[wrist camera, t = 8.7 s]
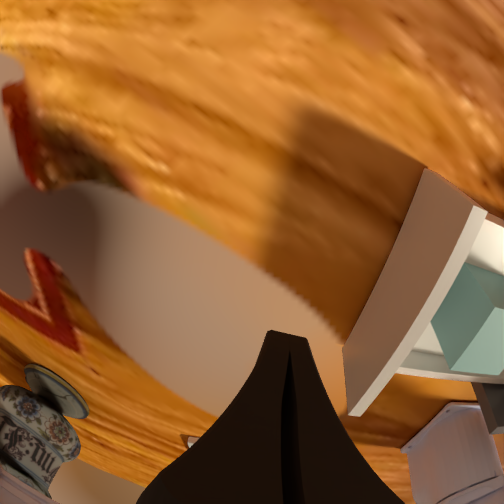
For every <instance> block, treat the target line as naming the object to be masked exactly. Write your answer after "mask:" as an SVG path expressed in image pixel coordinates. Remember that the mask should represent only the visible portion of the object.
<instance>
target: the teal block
mask: <svg viewBox="0 0 504 504" xmlns="http://www.w3.org/2000/svg"><path fill="white" fill-rule="evenodd" d="M430 322H431V325H432V327H433V329H434V332H435V334H436V336H437V339H438V341H439V344H440V346H441V349H442V351H443V354H444V356H445V359H446V361H447V364H448V367H449V369H450V370H453V371H461V372H469V373H479V374H489V375H499V374H500V373H501V372H502V371H503V369H504V276H502V275H499V274H497V273H494V272H491V271H488V270H485V269H483V268H480V267H477V266H474V265H471V264H469V263H466V262H464V264H463V265H462V267H461V269H460V271H459V273H458V275H457V277H456V279H455V280H454V282H453V284H452V286H451V288H450V289H449V291H448V293H447V295H446V296H445V298H444V300H443V301H442V303H441V305H440V306H439V308H438V310H437V311H436V313H435V315H434V316H433V318H432V320H431V321H430Z"/></svg>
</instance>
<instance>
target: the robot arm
mask: <svg viewBox="0 0 504 504" xmlns="http://www.w3.org/2000/svg"><path fill="white" fill-rule="evenodd" d="M400 451H401V453H407V457H408V464H409V471H410V479H411V487H412V494H413V498H414V500H415V502H416V504H504V474H503V470H502V467H501V463H500V459H499V456H498V452H497V449H496V445H495V442H494V439H493V436H492V434H491V435H489V432H488V429H487V426H486V423H485V420H484V417H483V414H482V411H481V408H480V405H479V403H463V402H450V403H448V404H447V405H446V406H445V407H444V408H443V409H442V410H441V411H440V412H439V413H438V414H437V415H436V416H435V417H434V418H433V419H432V420H431V421H430V422H429V423H428V424H427V425H426V426H425V427H424V428H423V429H422V430H421V431H420V432H419V433H418V434H417V435H416V436H415V437H413V438H412V439H411V440H410V441H409V442H408V443H407V444H406V445H404V446H403V447H402V448H401V449H400ZM0 504H59V503H58V502H56V501H54V500H52V499H50V498H49V497H47V496H45V495H43V494H42V493H40V492H38V491H36V490H35V489H33V488H31V487H30V486H28V485H27V484H25V483H23V482H22V481H20V480H19V479H17V478H16V477H14V476H13V475H11V474H10V473H8V472H7V471H5V470H4V469H2V467H1V466H0ZM136 504H405V503H404V502H403V501H402V500H401V499H400V498H399V497H398V496H397V495H396V494H395V493H394V492H393V491H392V490H391V489H390V488H389V487H388V486H386V484H385V483H384V482H383V481H382V480H381V479H380V478H379V477H378V475H377V474H376V473H375V472H374V471H373V469H372V468H371V467H370V465H369V464H368V463H367V461H366V460H365V459H364V457H363V456H362V455H361V453H360V452H359V451H358V449H357V448H356V446H355V445H354V443H353V442H352V440H351V439H350V437H349V435H348V434H347V432H346V430H345V429H344V427H343V425H342V423H341V421H340V420H339V418H338V416H337V414H336V412H335V410H334V408H333V406H332V404H331V401H330V399H329V397H328V395H327V393H326V390H325V388H324V385H323V383H322V380H321V378H320V375H319V373H318V370H317V367H316V364H315V362H314V359H313V356H312V353H311V350H310V346H309V343H308V340H307V339H306V338H304V337H300V336H295V335H291V334H287V333H282V332H278V331H274V330H270V331H267V333H266V336H265V339H264V342H263V345H262V348H261V351H260V353H259V356H258V359H257V362H256V364H255V367H254V369H253V371H252V372H251V374H250V376H249V377H248V379H247V380H246V382H245V384H244V385H243V387H242V388H241V390H240V391H239V393H238V394H237V396H236V397H235V398H234V400H233V401H232V402H231V404H230V405H229V406H228V408H227V409H226V410H225V411H224V412H223V414H222V415H221V416H220V417H219V418H218V419H217V420H216V422H215V423H214V424H213V425H212V426H211V427H210V428H209V429H208V430H207V431H206V432H205V433H204V434H203V435H202V436H201V437H200V438H199V439H198V440H197V441H196V442H195V443H194V444H193V445H192V446H191V447H190V448H189V449H188V450H187V451H185V452H184V453H183V454H182V455H181V456H180V457H178V458H177V459H176V460H175V461H173V462H172V463H171V464H170V465H168V466H167V467H166V468H164V469H163V470H162V471H161V472H160V473H159V474H158V475H157V476H156V478H155V479H154V480H153V481H152V482H151V483H150V484H149V485H148V486H147V488H146V489H145V490H144V491H143V492H142V494H141V496H140V497H139V499H138V500H137V502H136Z"/></svg>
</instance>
